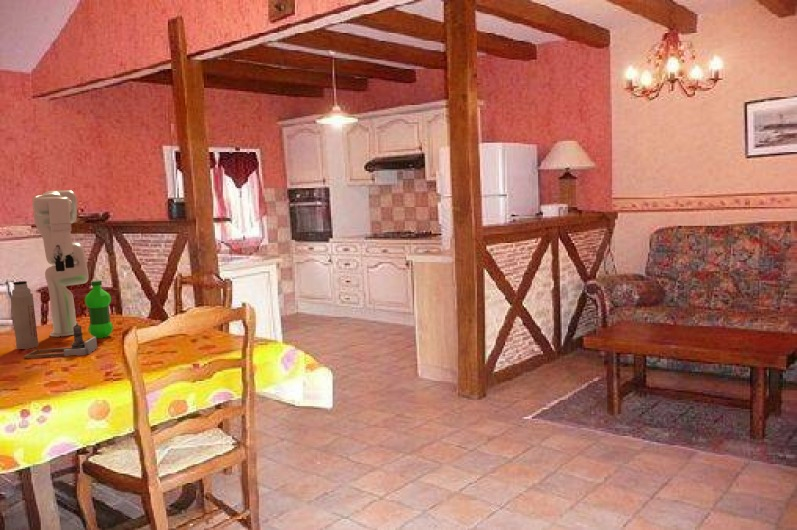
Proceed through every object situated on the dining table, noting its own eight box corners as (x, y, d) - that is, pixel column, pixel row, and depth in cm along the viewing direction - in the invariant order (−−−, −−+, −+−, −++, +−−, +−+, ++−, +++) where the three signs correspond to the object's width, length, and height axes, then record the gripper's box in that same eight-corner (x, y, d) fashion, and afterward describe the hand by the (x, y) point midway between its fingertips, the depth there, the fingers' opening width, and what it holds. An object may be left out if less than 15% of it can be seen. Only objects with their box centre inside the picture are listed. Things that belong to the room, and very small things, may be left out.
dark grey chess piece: (75, 351, 265) (72, 321, 263) (90, 350, 265) (87, 321, 264) (69, 354, 259) (66, 324, 257) (84, 353, 259) (81, 324, 258)
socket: (74, 350, 266) (73, 338, 266) (97, 348, 267) (96, 336, 266) (64, 356, 256) (63, 343, 256) (88, 354, 257) (86, 342, 257)
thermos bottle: (42, 345, 278) (35, 280, 275) (28, 349, 270) (21, 282, 267) (26, 345, 280) (19, 280, 276) (12, 349, 272) (4, 283, 269)
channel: (35, 352, 265) (35, 349, 265) (74, 350, 266) (74, 347, 266) (24, 358, 255) (23, 355, 255) (64, 356, 256) (64, 353, 256)
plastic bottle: (98, 334, 295) (92, 279, 292) (119, 334, 293) (113, 279, 290) (83, 339, 285) (77, 283, 282) (105, 339, 283) (99, 282, 280)
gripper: (60, 226, 275) (64, 267, 277) (42, 230, 258) (46, 273, 260) (78, 226, 275) (82, 266, 278) (62, 229, 258) (66, 272, 261)
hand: (65, 269), depth 269 cm, fingers open, 9 cm apart
